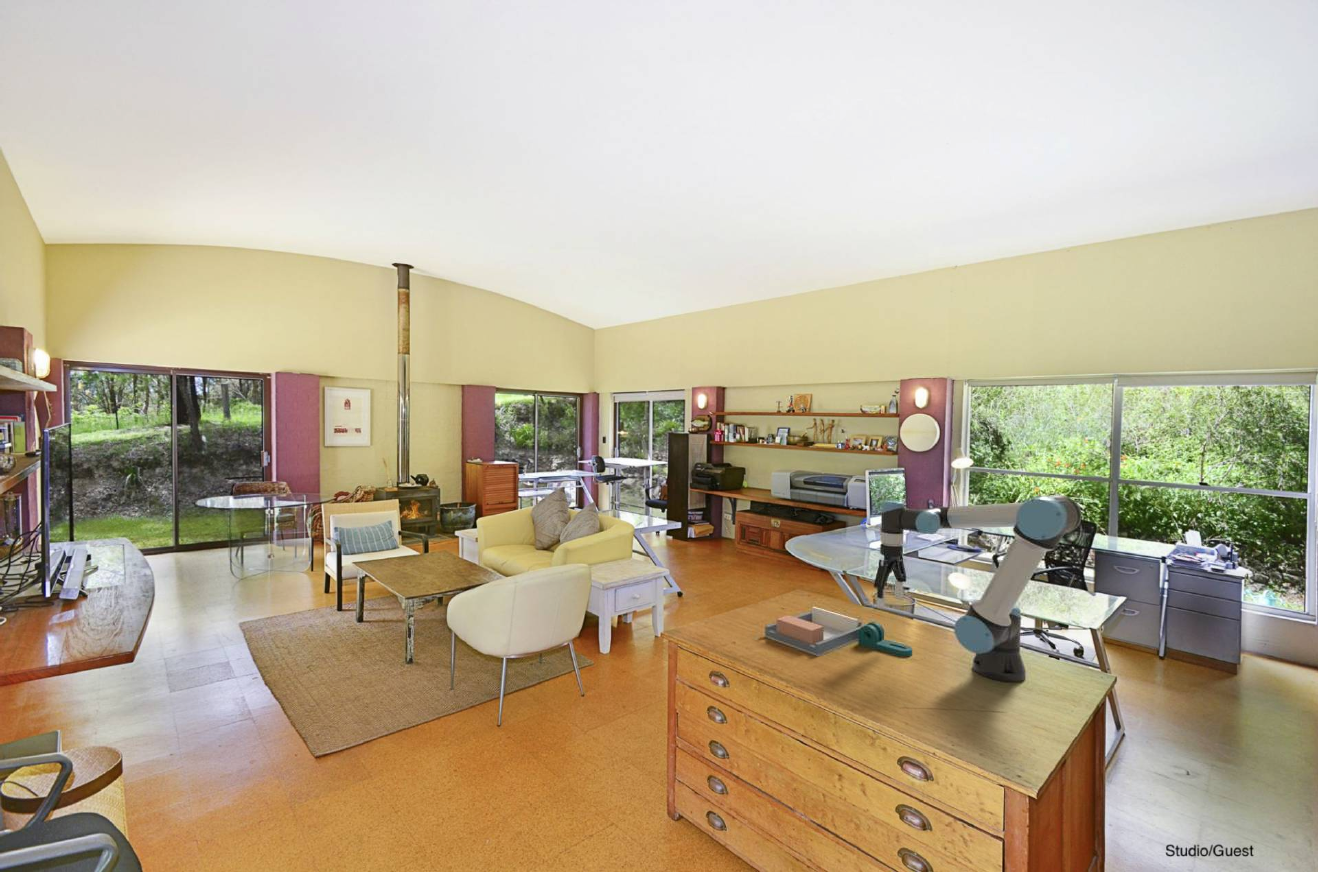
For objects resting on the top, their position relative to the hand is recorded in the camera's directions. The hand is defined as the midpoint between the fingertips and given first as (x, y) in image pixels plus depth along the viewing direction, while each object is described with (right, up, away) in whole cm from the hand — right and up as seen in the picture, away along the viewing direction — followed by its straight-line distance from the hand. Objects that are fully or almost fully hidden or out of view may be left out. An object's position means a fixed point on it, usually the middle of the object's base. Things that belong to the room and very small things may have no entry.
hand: (889, 602), depth 211 cm
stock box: (-31, -17, +8) cm, 36 cm away
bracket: (0, -18, +3) cm, 18 cm away
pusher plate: (-13, -16, +22) cm, 30 cm away
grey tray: (-23, -17, +14) cm, 32 cm away
